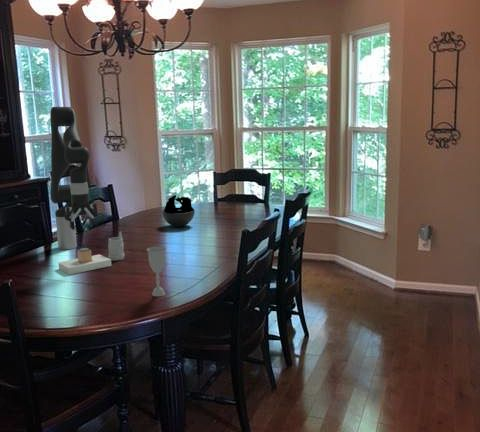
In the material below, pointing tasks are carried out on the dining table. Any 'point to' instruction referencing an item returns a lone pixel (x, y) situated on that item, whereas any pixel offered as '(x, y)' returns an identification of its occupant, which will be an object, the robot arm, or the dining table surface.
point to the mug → (116, 248)
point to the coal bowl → (178, 211)
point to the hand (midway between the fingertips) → (82, 228)
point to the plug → (84, 255)
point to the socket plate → (84, 264)
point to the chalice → (157, 266)
